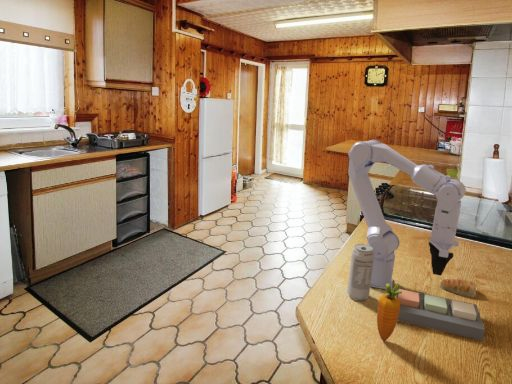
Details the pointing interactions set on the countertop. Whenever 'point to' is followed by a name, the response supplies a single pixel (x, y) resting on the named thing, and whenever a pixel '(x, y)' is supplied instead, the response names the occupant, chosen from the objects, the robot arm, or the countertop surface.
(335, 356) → the countertop surface
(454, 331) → the panel
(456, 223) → the robot arm
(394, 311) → the carrot
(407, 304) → the terracotta button
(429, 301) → the sage button
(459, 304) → the cream button
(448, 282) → the pastry
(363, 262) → the energy drink can
